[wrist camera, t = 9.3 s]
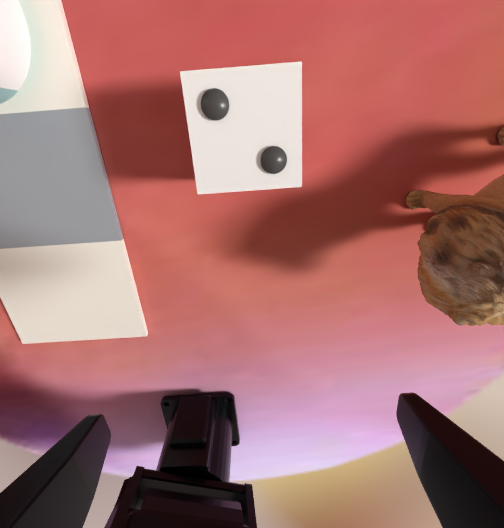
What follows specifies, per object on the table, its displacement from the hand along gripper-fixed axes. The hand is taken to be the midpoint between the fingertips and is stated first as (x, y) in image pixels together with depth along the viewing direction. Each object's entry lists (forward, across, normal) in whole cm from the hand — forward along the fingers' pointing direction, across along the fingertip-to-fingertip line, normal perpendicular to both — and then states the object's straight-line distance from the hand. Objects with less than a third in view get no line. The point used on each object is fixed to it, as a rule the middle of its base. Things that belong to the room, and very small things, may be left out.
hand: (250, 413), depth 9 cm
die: (+13, 0, -8) cm, 15 cm away
